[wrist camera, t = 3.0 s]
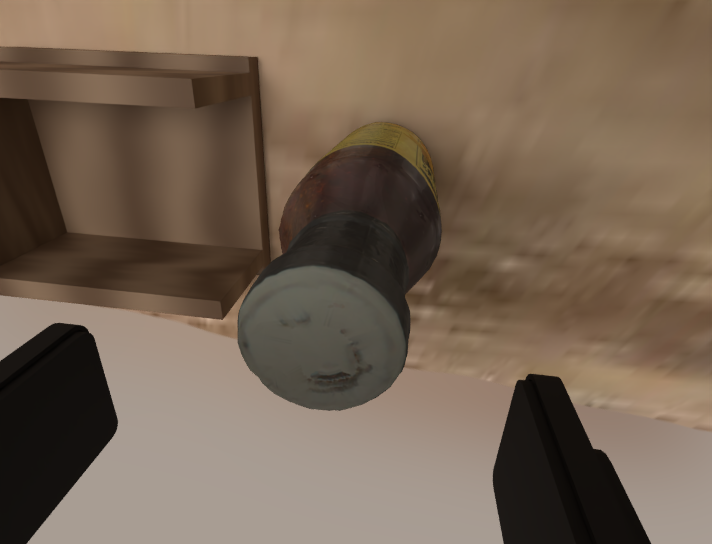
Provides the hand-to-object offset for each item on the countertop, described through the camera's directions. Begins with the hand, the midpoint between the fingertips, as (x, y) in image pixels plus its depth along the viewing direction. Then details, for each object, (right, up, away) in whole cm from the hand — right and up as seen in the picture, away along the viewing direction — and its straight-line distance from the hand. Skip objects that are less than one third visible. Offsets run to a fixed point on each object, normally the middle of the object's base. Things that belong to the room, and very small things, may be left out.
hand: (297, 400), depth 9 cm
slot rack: (-13, +10, +20) cm, 26 cm away
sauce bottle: (+3, +10, +18) cm, 21 cm away
